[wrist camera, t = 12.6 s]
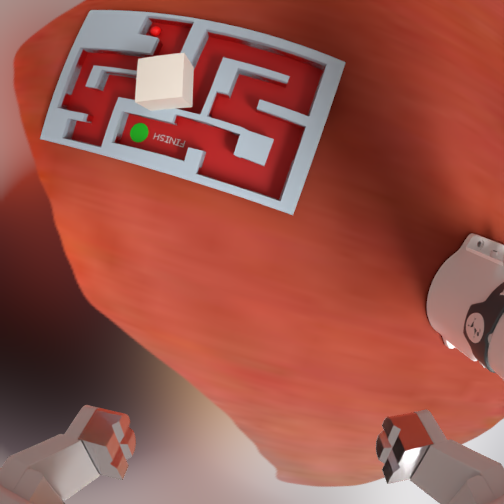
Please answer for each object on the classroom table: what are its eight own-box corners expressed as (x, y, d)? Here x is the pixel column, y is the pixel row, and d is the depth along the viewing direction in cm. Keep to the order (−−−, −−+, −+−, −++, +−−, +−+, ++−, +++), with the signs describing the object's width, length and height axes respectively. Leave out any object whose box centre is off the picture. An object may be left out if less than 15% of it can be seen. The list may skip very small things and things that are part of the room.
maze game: (339, 70, 33) (345, 62, 30) (289, 211, 38) (292, 215, 35) (99, 18, 31) (90, 10, 28) (52, 140, 35) (39, 138, 32)
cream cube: (193, 67, 31) (184, 52, 26) (192, 107, 32) (182, 97, 27) (152, 72, 31) (138, 58, 26) (150, 110, 32) (134, 102, 27)
